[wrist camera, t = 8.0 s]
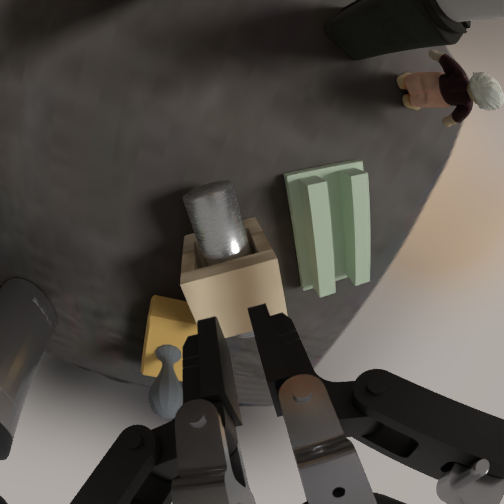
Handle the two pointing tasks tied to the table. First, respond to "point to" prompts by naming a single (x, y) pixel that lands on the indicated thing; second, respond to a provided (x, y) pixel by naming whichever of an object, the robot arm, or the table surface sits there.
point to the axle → (218, 224)
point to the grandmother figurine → (450, 89)
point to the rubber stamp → (166, 352)
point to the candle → (405, 24)
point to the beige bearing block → (232, 282)
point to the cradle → (330, 224)
